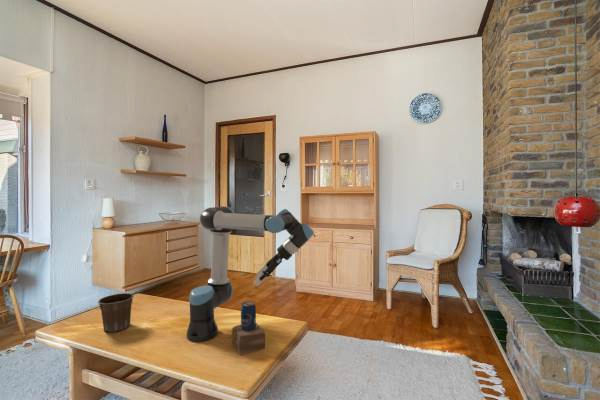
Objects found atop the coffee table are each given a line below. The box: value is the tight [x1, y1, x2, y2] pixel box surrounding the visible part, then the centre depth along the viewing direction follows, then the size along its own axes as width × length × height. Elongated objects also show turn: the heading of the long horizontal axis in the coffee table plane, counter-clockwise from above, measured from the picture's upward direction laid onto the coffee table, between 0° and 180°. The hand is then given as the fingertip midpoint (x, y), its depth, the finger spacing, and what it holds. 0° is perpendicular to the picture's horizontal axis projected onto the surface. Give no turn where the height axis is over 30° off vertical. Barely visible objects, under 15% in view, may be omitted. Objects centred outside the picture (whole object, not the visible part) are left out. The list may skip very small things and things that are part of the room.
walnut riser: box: [231, 322, 266, 356], centre depth 140 cm, size 12×12×8 cm
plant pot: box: [97, 292, 134, 333], centre depth 160 cm, size 16×16×16 cm
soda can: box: [240, 301, 257, 332], centre depth 140 cm, size 7×7×12 cm
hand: (256, 279), depth 146 cm, fingers open, 13 cm apart
